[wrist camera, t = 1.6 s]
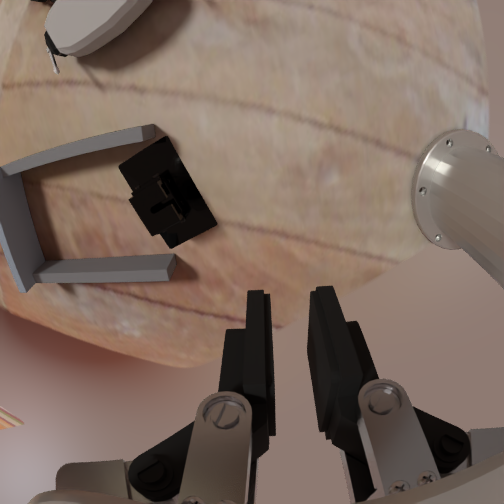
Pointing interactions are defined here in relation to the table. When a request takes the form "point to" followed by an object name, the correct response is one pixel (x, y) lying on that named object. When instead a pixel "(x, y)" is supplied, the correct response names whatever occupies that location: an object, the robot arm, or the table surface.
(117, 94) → the table surface
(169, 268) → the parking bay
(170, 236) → the black bracket part
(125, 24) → the robot toy
